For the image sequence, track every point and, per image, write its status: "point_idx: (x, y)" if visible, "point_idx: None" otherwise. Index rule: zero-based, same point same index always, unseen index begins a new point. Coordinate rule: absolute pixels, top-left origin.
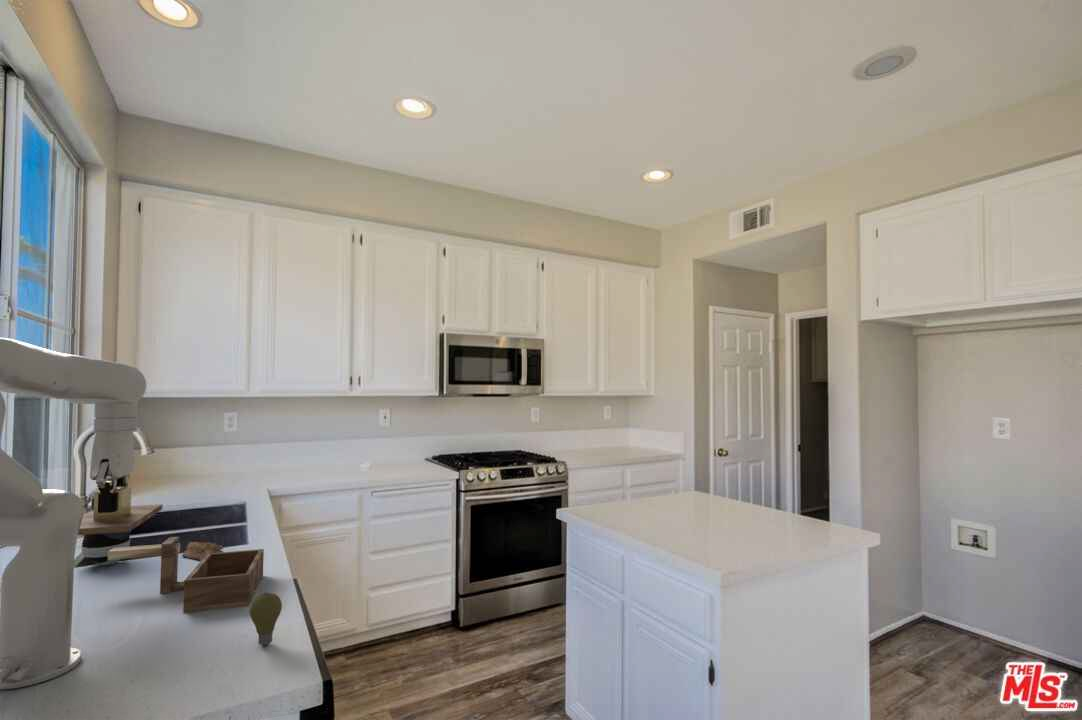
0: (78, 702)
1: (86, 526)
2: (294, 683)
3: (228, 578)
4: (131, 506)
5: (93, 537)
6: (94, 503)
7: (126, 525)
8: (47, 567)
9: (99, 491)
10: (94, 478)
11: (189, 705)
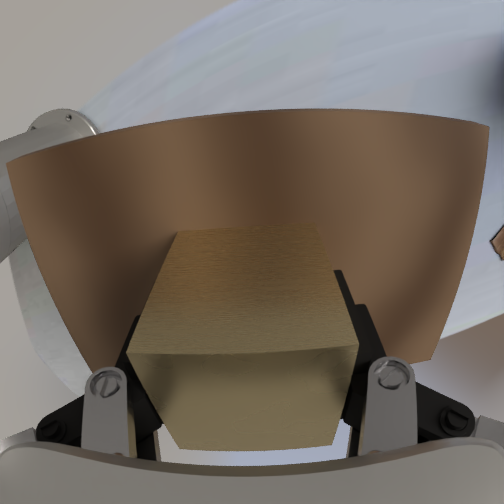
0: (17, 253)
1: (61, 264)
2: (74, 387)
3: None
4: (453, 274)
5: None
6: (156, 287)
7: (92, 369)
8: None
9: (91, 390)
10: (70, 458)
11: (34, 335)
